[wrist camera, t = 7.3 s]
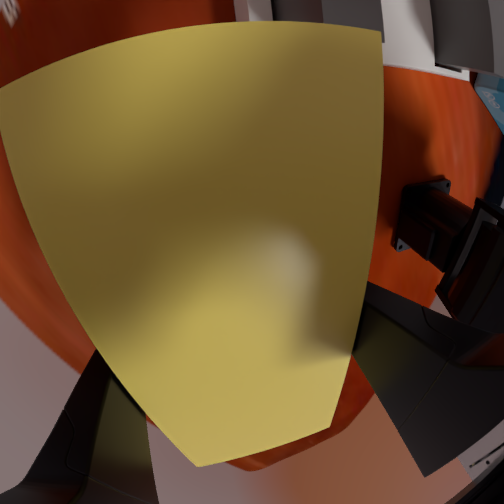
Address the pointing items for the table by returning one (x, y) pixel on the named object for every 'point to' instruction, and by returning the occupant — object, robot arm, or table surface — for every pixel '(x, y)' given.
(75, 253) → the pale yellow pad
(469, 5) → the block
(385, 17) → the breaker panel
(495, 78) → the data package
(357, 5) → the block
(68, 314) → the table surface
